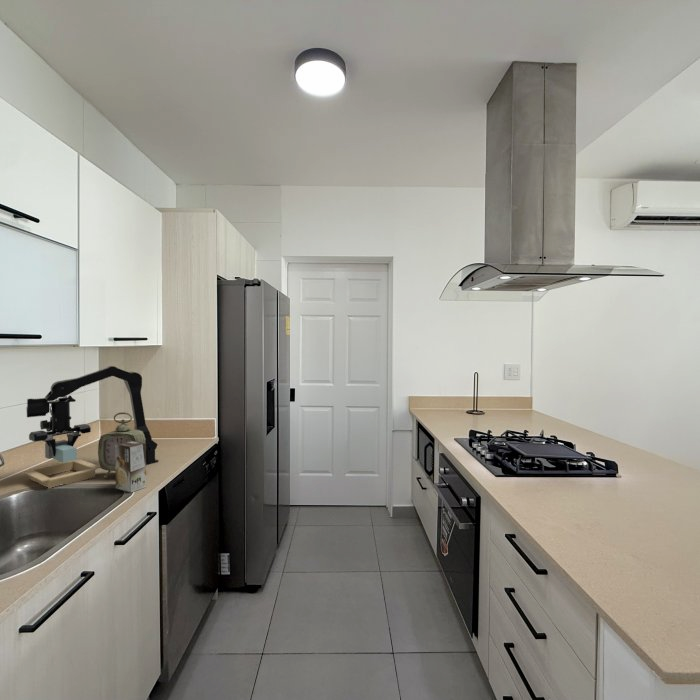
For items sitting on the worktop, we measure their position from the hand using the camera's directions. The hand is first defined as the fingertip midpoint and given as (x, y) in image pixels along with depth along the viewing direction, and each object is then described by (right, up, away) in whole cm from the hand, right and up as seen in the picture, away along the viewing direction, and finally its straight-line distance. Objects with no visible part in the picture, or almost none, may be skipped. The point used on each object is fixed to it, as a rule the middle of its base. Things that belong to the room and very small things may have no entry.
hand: (61, 454), depth 156 cm
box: (+1, -1, 0) cm, 2 cm away
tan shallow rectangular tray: (+1, -9, 0) cm, 9 cm away
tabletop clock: (+23, -9, +2) cm, 25 cm away
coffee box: (+32, -9, -10) cm, 35 cm away
